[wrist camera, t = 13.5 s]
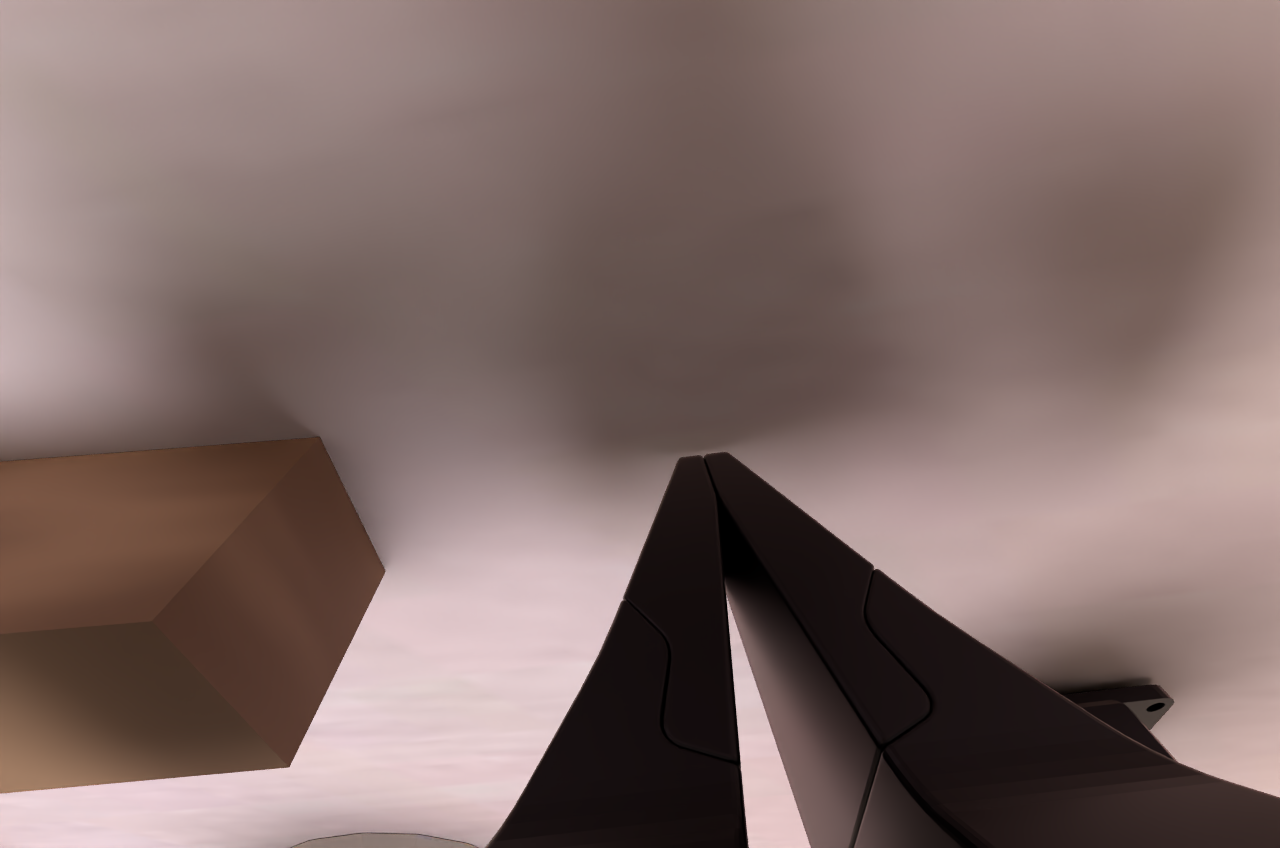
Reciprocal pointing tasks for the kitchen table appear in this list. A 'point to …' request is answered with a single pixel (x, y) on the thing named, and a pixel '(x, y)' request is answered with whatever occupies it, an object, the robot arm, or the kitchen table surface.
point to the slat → (172, 609)
